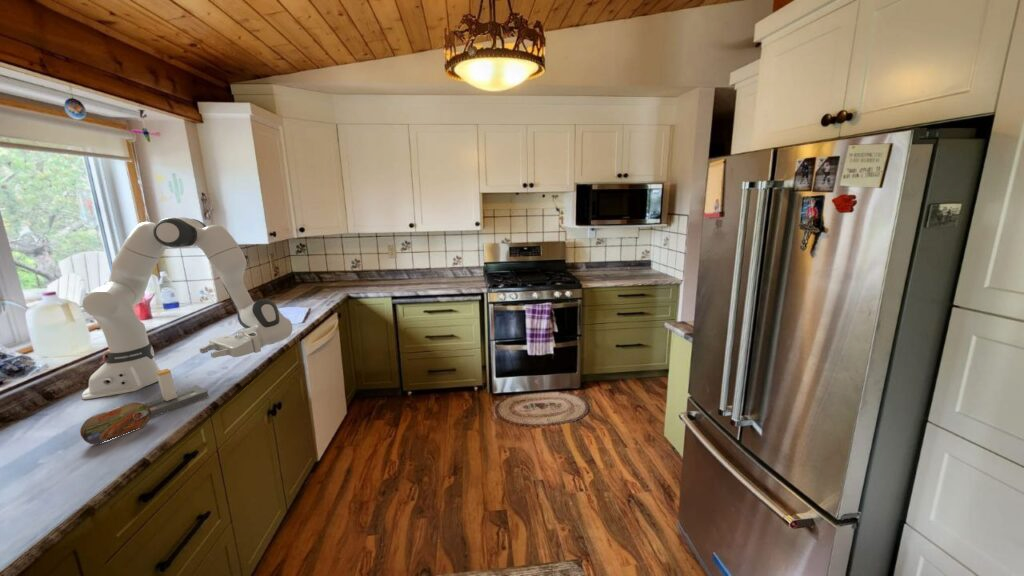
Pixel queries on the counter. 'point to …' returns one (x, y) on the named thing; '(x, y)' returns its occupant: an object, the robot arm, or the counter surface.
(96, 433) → the tin
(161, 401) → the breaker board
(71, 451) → the counter surface
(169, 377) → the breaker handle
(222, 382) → the counter surface
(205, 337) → the counter surface
